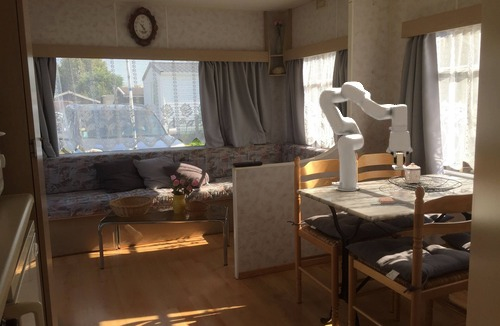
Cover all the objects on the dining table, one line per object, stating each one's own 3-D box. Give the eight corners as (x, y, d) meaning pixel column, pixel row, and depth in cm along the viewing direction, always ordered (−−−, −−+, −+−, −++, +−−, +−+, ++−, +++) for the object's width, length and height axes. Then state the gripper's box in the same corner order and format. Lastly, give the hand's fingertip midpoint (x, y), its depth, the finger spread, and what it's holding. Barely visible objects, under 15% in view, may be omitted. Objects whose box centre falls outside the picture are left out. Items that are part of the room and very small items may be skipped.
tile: (378, 200, 217) (381, 204, 210) (378, 197, 217) (380, 201, 209) (391, 199, 217) (393, 203, 209) (391, 197, 216) (393, 200, 208)
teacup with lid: (407, 180, 265) (407, 161, 263) (422, 181, 259) (423, 162, 257) (400, 183, 256) (400, 164, 254) (415, 185, 250) (415, 165, 248)
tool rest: (393, 198, 222) (393, 197, 221) (389, 193, 234) (389, 191, 234) (413, 198, 220) (413, 196, 220) (408, 192, 233) (408, 191, 232)
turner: (394, 169, 220) (394, 154, 219) (392, 166, 229) (392, 152, 228) (407, 169, 219) (407, 154, 217) (403, 166, 228) (403, 151, 227)
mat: (371, 206, 208) (371, 205, 207) (367, 199, 223) (367, 198, 223) (405, 206, 205) (405, 205, 205) (399, 198, 221) (399, 197, 220)
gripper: (383, 130, 219) (384, 165, 222) (417, 128, 216) (417, 165, 219) (382, 129, 226) (382, 163, 229) (414, 127, 223) (414, 162, 226)
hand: (399, 163), depth 224 cm, fingers closed on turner, 3 cm apart
